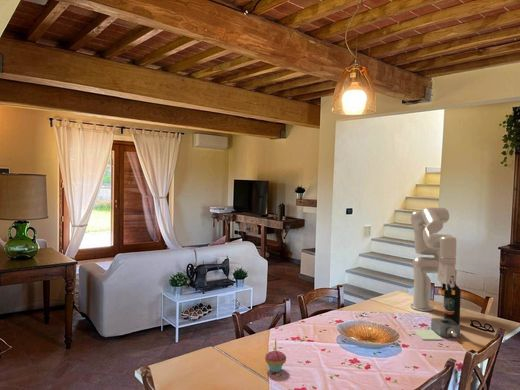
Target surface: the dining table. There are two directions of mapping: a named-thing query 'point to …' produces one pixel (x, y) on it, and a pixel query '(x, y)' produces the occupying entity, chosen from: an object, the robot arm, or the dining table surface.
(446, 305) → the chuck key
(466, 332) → the dining table surface
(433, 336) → the mat
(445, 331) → the chuck block
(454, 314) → the wine bottle
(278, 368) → the cupcake
